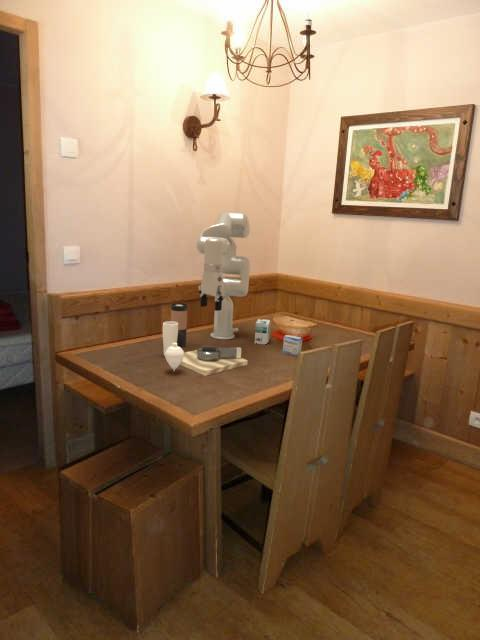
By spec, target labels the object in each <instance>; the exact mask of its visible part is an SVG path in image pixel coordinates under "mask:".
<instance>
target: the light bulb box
mask: <svg viewBox="0 0 480 640" xmlns="http://www.w3.org/2000/svg"><path fill="white" fill-rule="evenodd" d="M254 330H255V332H254V344H256V343H257V344H258V345H265V344H267V343H269V341H270V333H271V332H270V331H271V320H270V319H264V318H263V319H262V318H258V319H257V320H256V322H255V329H254ZM267 345H268V344H267Z"/></svg>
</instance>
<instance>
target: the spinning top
mask: <svg viewBox="0 0 480 640" xmlns="http://www.w3.org/2000/svg"><path fill="white" fill-rule="evenodd" d="M172 344H173V346H171V347H169V348H168V349H167V350H166V352H165V356H164V357H165V358H164V359H165V360H166V362H167V363H168V365H169V366H170V368H171V369H172V370H173V372H176V371H175V370H176V369H177V368H179V366H180V365H179V364H180V363H181V362H182V360H183V358H184V353H185V351H184V350H183V349H182V347H178V346H177V343H172Z"/></svg>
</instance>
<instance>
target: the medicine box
mask: <svg viewBox="0 0 480 640" xmlns="http://www.w3.org/2000/svg"><path fill="white" fill-rule="evenodd" d="M302 345H303V337H301V336H295V335H289V334H286V335H284V336H283V345H282V354H283V353H288V354H292V355H296V356H295V357H297V355H298V354H299V352H301V353H302V347H303V346H302ZM292 355H291V356H292Z"/></svg>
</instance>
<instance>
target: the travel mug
mask: <svg viewBox="0 0 480 640" xmlns="http://www.w3.org/2000/svg"><path fill="white" fill-rule="evenodd" d="M170 321H173V322H177V323H178V337H177V346H178V347H181V348H184V347H186V343H187V328H188V325H187V323H188V304H187V303H182V302H173V303H171V306H170Z"/></svg>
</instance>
